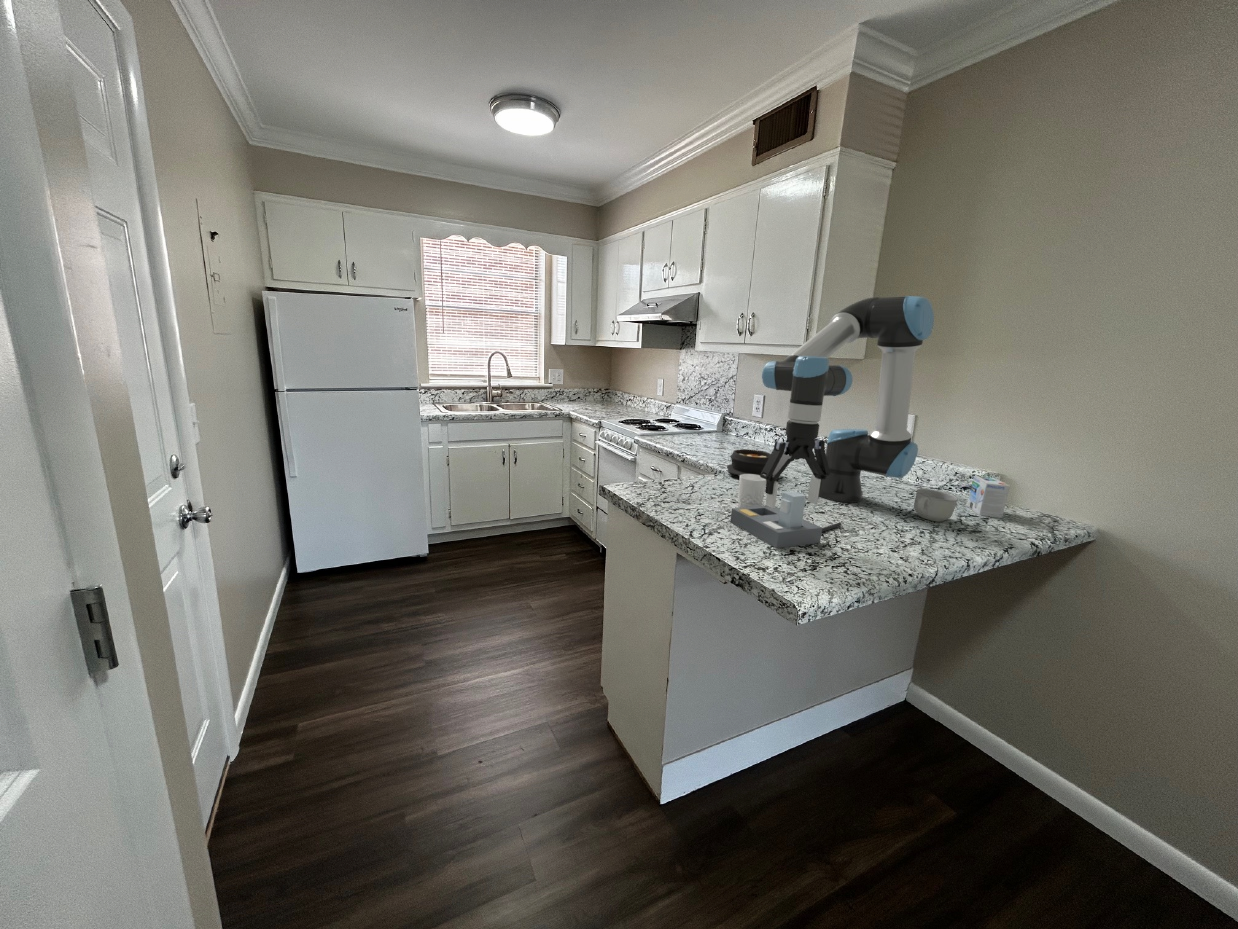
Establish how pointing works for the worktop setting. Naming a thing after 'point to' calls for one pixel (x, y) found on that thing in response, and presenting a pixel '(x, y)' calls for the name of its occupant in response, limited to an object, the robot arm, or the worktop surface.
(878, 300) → the robot arm
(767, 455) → the casserole
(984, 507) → the light bulb box
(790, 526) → the plug
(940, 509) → the teacup
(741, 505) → the white cup
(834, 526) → the patch cord
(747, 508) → the panel
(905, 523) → the worktop surface
